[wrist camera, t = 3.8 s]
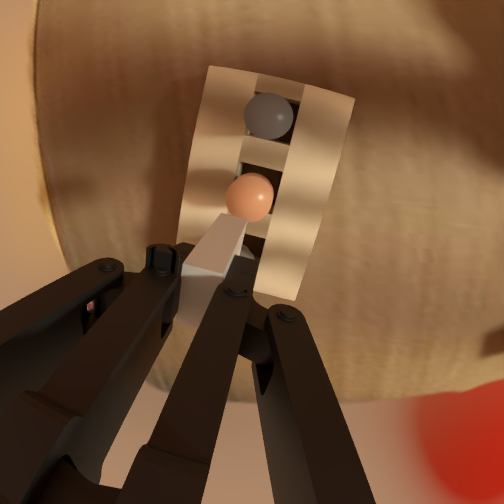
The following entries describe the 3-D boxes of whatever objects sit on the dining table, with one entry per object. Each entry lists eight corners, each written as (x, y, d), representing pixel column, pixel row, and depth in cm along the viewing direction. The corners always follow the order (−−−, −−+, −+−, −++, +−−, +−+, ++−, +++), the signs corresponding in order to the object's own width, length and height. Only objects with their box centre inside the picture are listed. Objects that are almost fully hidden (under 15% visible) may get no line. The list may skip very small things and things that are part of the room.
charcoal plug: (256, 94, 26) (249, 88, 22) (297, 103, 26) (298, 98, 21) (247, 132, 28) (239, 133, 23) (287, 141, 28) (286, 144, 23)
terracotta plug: (240, 164, 29) (230, 172, 24) (279, 174, 29) (276, 183, 24) (232, 201, 30) (221, 216, 26) (270, 211, 30) (265, 227, 26)
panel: (220, 73, 30) (209, 65, 25) (346, 102, 30) (355, 98, 25) (186, 251, 39) (172, 268, 34) (294, 279, 38) (294, 300, 34)
